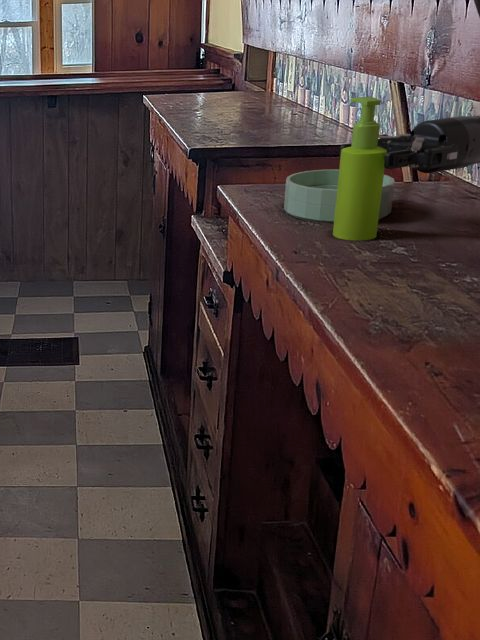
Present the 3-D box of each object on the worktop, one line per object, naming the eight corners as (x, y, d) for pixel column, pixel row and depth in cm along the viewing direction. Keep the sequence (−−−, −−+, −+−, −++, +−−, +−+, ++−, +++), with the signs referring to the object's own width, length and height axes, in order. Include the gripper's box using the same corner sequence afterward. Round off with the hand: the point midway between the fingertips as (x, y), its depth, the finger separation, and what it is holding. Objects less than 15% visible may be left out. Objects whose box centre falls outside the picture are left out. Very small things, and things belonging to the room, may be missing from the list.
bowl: (402, 207, 142) (406, 173, 140) (373, 230, 130) (377, 193, 128) (303, 198, 151) (306, 166, 149) (268, 219, 139) (271, 185, 137)
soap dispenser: (361, 232, 129) (376, 94, 121) (383, 245, 123) (401, 99, 115) (322, 235, 129) (336, 96, 121) (342, 247, 122) (358, 102, 115)
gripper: (414, 113, 131) (329, 124, 126) (496, 122, 119) (406, 135, 114) (407, 162, 134) (324, 175, 129) (487, 177, 122) (399, 192, 117)
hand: (363, 156), depth 121 cm, fingers open, 8 cm apart
